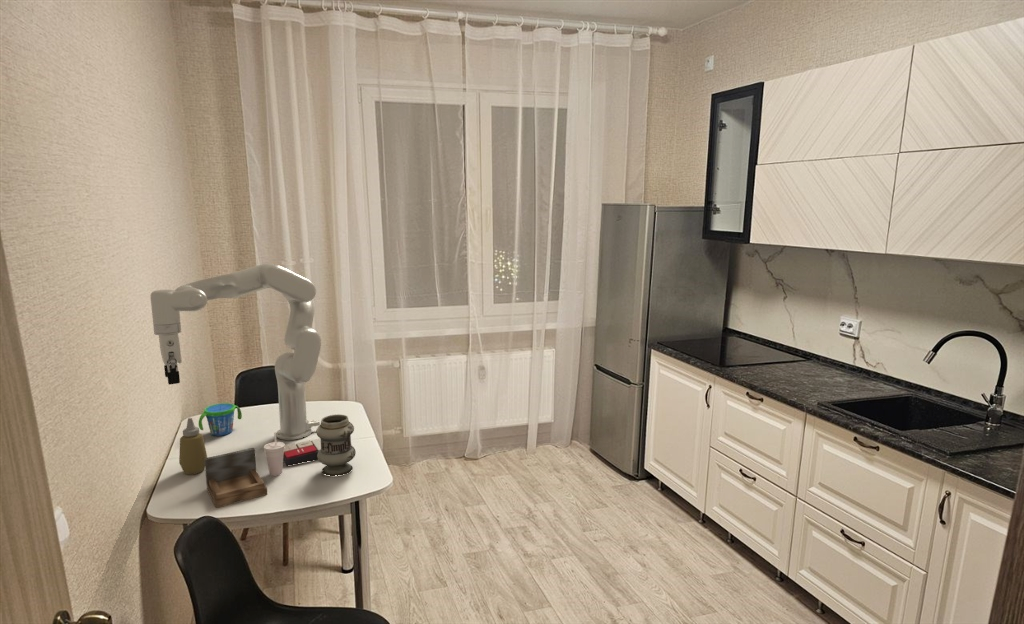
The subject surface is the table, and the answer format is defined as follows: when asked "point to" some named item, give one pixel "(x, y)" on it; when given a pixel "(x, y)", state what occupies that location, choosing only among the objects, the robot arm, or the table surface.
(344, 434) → the apothecary jar
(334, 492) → the table surface
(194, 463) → the squeeze bottle
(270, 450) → the smoothie
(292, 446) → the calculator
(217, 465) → the display stand
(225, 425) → the snack cup
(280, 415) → the robot arm
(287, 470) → the table surface
